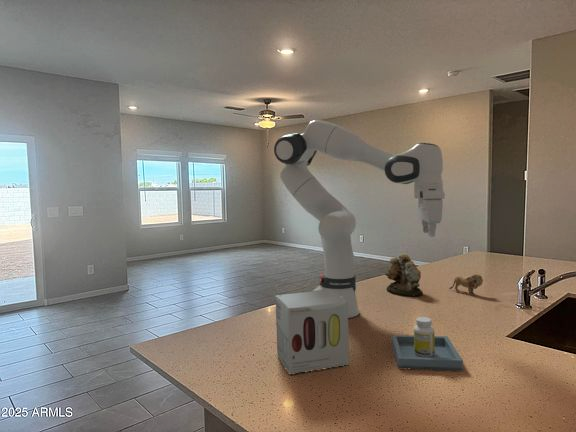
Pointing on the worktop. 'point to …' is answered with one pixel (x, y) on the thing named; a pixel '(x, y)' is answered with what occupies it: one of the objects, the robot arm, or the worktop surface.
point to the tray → (440, 360)
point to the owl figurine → (404, 277)
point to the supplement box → (312, 330)
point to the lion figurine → (468, 283)
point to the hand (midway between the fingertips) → (428, 234)
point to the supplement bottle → (424, 337)
